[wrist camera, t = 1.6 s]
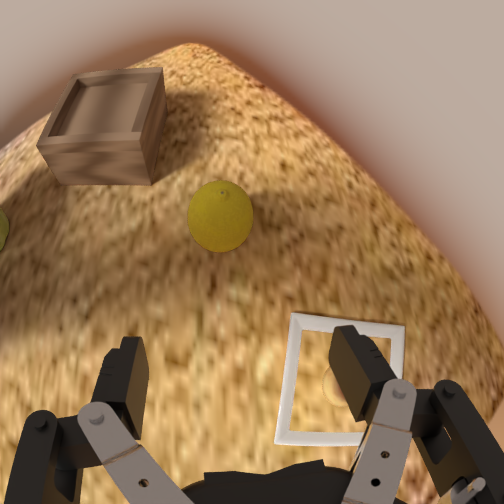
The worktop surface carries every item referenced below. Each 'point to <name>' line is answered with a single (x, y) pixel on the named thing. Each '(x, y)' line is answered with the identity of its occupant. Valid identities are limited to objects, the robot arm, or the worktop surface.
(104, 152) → the wooden box
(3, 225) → the plant pot
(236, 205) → the lemon
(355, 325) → the white square frame
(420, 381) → the worktop surface
